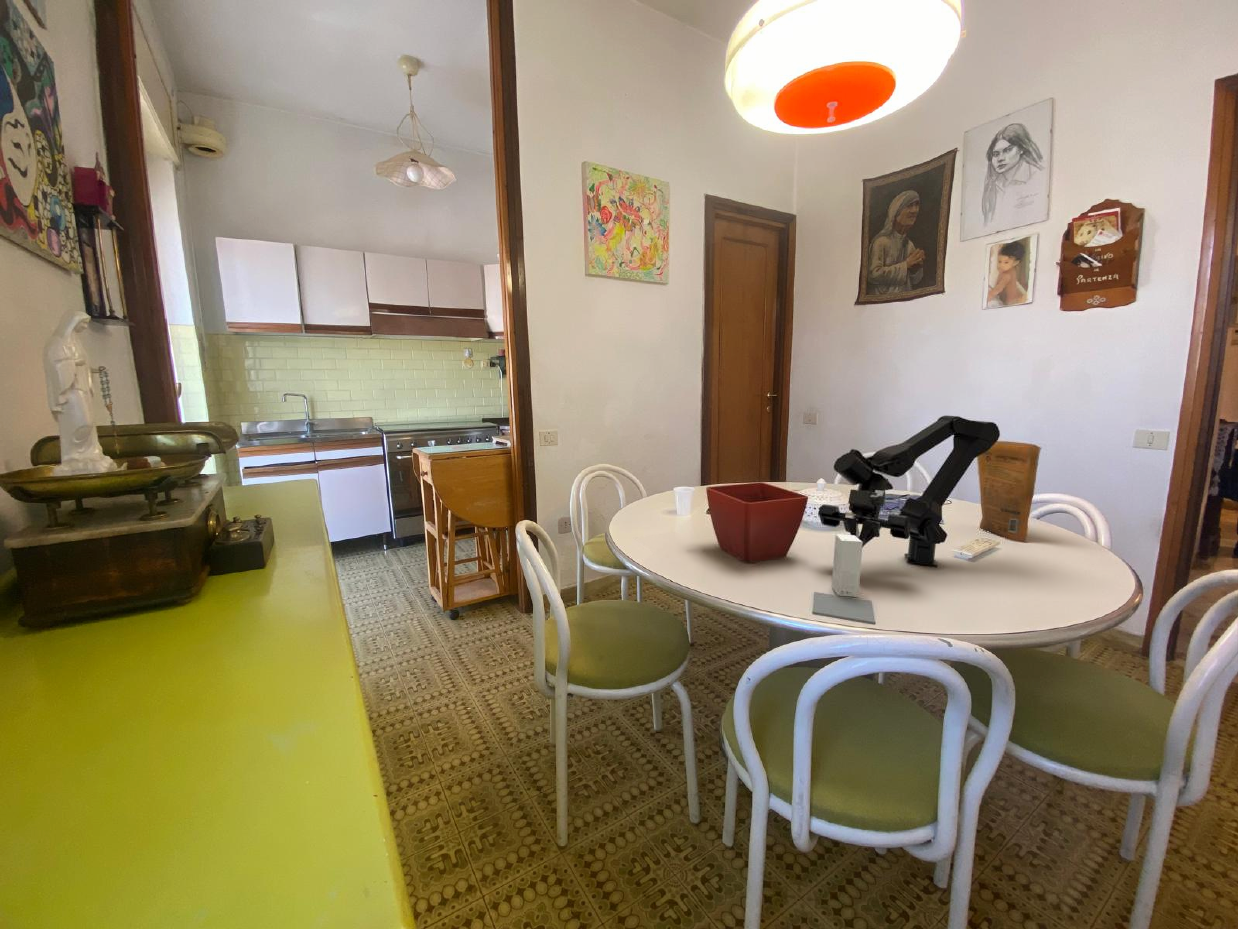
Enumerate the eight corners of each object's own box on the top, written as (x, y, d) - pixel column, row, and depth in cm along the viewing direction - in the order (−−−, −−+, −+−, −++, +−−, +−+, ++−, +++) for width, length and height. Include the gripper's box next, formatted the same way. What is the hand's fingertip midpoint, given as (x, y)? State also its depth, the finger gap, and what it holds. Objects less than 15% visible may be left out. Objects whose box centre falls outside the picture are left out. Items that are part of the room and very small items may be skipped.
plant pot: (806, 560, 125) (810, 495, 122) (744, 570, 118) (747, 503, 115) (759, 538, 143) (762, 481, 140) (702, 546, 136) (704, 487, 133)
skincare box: (859, 598, 102) (863, 542, 101) (837, 596, 103) (841, 540, 102) (851, 588, 108) (855, 534, 107) (830, 586, 109) (834, 533, 107)
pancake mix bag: (1016, 545, 136) (1030, 445, 131) (963, 525, 155) (973, 437, 150) (1039, 544, 136) (1053, 444, 132) (983, 524, 155) (994, 437, 150)
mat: (814, 593, 105) (814, 591, 105) (871, 602, 101) (871, 600, 101) (812, 613, 96) (812, 611, 96) (875, 624, 92) (875, 622, 92)
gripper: (823, 471, 117) (805, 526, 110) (913, 480, 105) (899, 543, 98) (830, 497, 124) (814, 550, 117) (915, 509, 112) (902, 568, 106)
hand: (854, 552), depth 109 cm, fingers closed
